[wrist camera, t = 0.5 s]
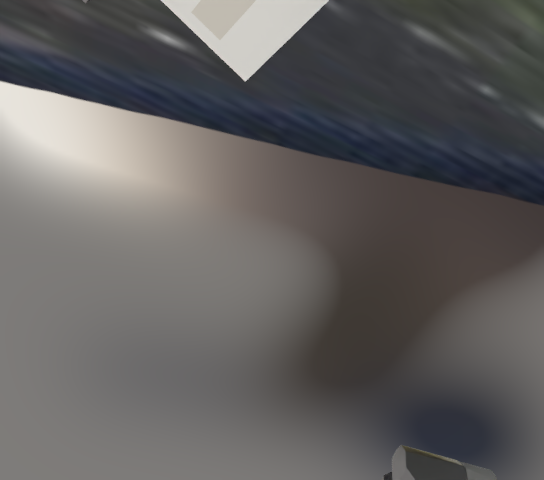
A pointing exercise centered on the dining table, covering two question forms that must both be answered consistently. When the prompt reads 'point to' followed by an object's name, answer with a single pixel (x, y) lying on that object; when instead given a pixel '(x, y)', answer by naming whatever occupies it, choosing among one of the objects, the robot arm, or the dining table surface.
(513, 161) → the dining table surface
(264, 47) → the paper
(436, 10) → the dining table surface
